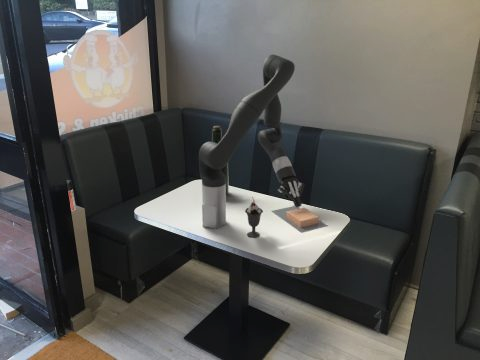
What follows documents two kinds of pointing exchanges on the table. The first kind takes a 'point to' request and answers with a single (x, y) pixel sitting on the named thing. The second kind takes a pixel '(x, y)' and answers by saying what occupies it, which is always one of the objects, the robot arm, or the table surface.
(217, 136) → the beer bottle
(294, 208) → the slate board
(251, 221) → the sundae
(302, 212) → the terracotta brick
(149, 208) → the table surface
